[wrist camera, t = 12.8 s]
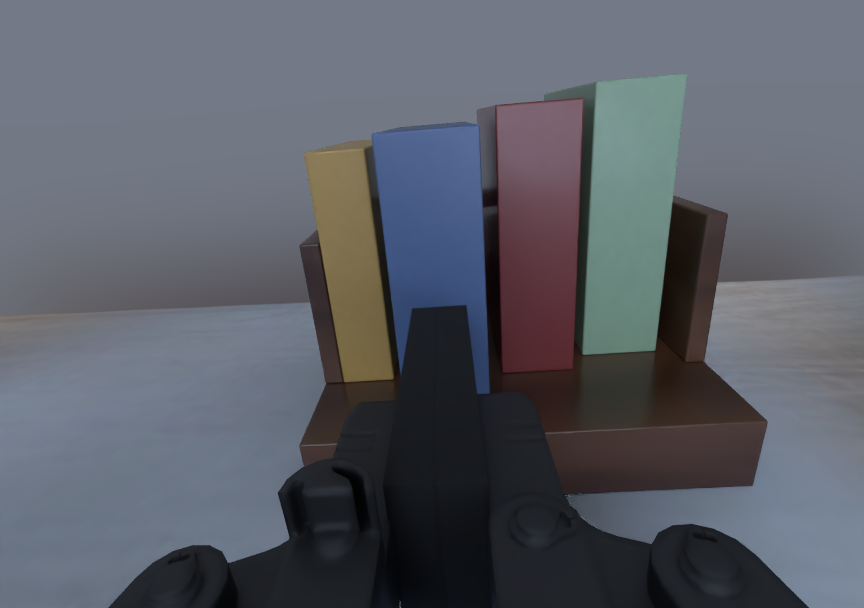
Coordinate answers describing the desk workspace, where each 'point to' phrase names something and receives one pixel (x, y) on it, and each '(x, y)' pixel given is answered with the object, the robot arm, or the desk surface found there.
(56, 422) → the desk surface
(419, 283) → the blue book
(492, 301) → the shelf books
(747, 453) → the book rack
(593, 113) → the sage book
